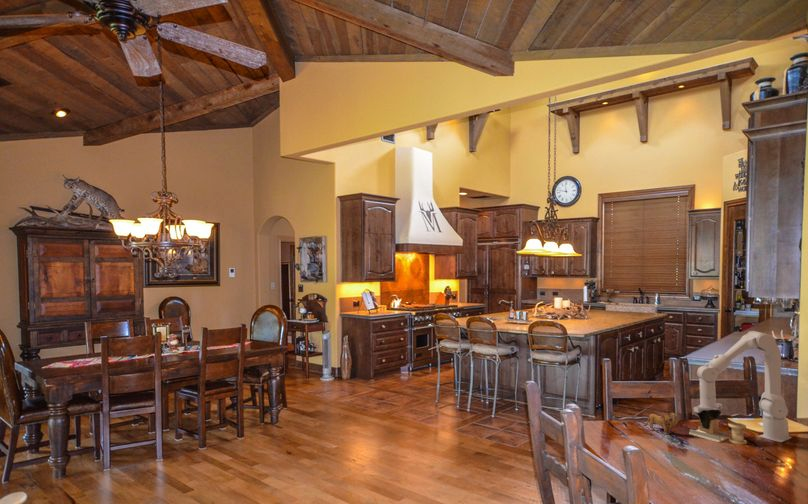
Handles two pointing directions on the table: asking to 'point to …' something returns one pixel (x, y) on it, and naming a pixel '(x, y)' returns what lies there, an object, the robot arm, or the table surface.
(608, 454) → the table surface
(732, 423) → the bobbin
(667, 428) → the lion figurine
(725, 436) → the notched board
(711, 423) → the tan block
